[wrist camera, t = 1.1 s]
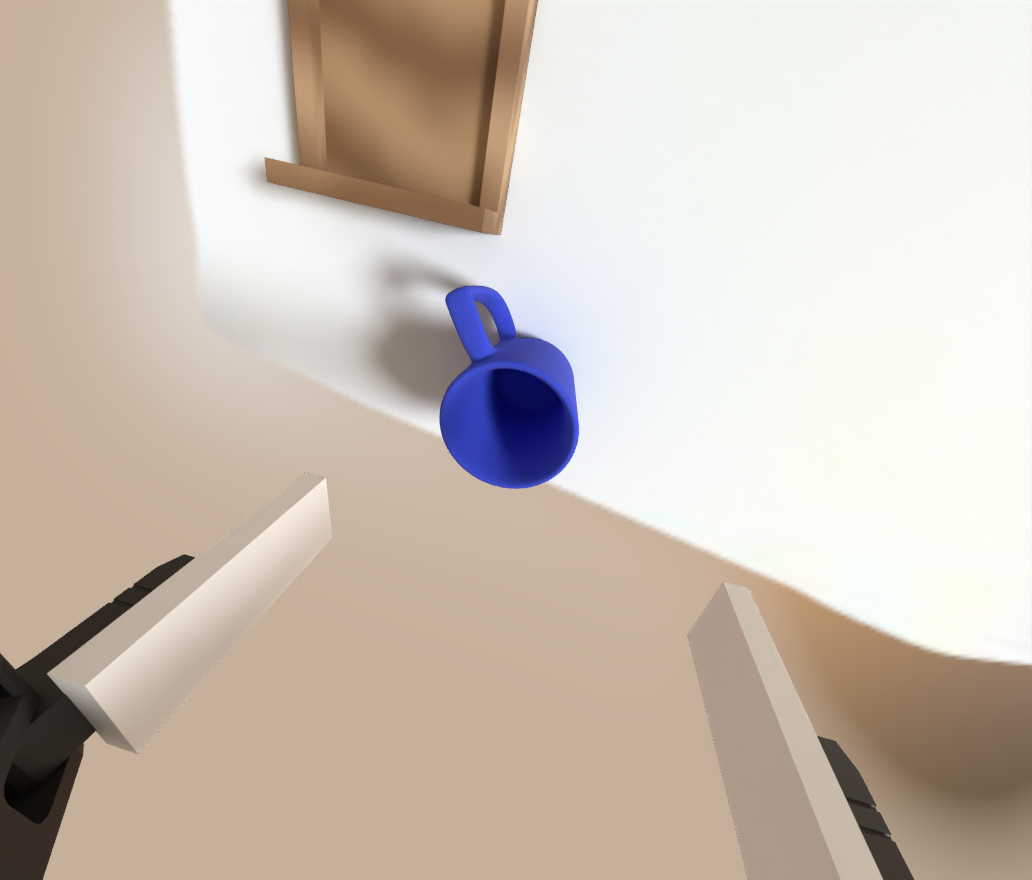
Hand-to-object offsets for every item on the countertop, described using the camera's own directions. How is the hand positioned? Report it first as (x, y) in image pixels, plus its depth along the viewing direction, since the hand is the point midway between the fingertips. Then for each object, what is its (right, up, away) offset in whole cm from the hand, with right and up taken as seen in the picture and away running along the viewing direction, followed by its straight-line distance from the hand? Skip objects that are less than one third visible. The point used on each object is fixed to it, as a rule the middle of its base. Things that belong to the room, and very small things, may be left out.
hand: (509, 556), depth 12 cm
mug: (+1, +11, +17) cm, 20 cm away
